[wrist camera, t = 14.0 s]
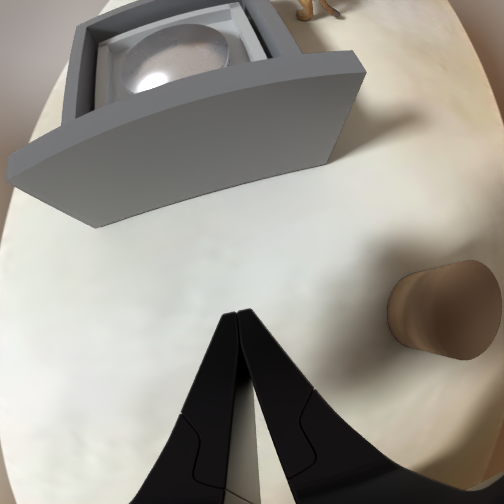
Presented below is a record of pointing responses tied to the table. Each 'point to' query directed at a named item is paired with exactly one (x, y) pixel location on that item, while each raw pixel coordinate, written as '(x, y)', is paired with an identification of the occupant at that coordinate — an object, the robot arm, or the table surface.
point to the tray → (190, 126)
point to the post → (447, 310)
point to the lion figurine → (308, 9)
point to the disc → (173, 56)
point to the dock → (145, 12)
